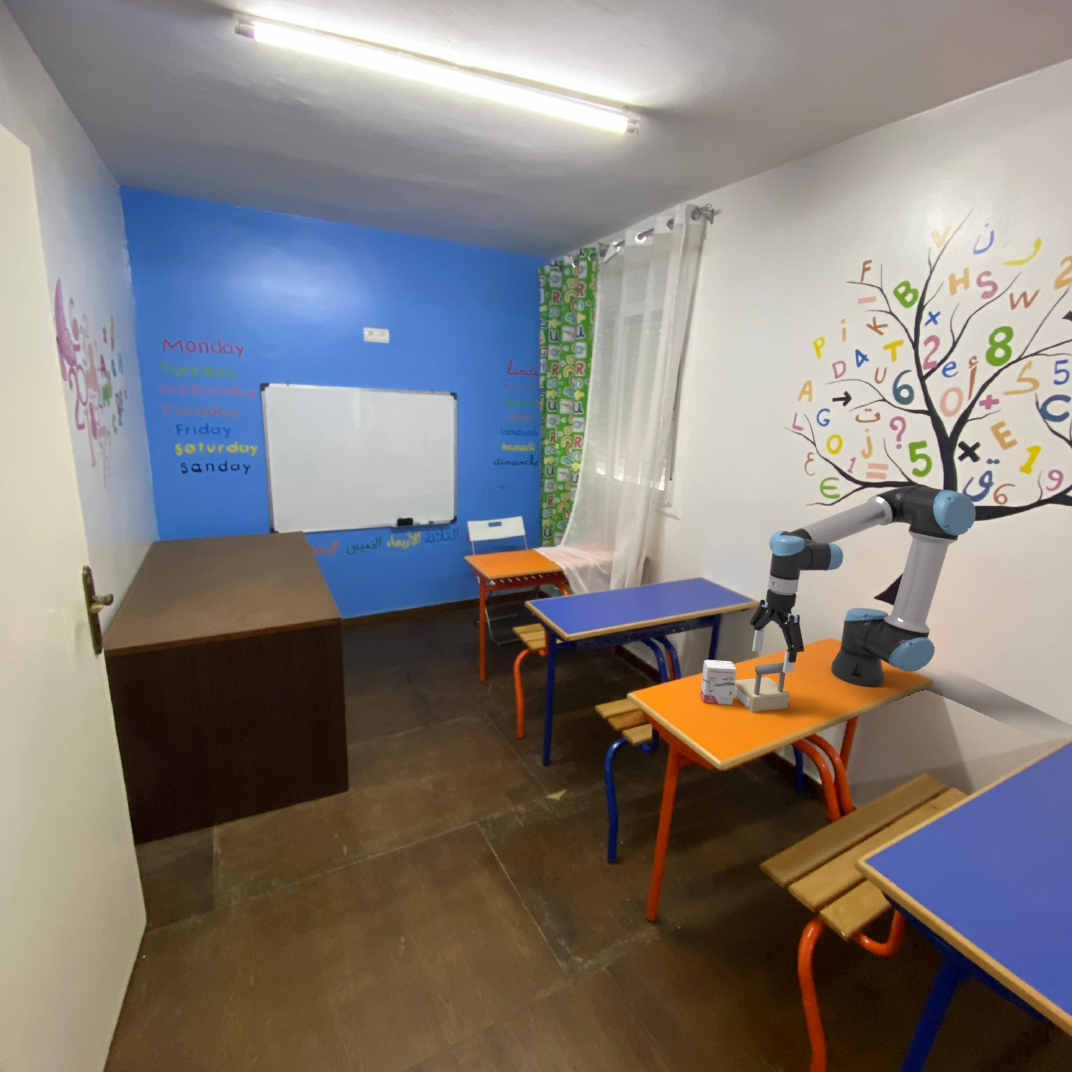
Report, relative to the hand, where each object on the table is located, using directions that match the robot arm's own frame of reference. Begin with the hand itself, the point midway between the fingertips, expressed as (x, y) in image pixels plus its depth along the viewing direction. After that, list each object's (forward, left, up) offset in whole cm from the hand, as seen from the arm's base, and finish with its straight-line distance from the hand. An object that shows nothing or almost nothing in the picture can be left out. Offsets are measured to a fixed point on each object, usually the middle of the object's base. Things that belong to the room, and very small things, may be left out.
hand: (771, 660), depth 154 cm
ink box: (+12, -7, -15) cm, 21 cm away
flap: (0, -4, -11) cm, 11 cm away
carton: (0, -3, -15) cm, 15 cm away
